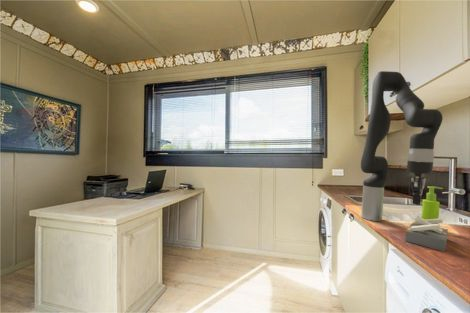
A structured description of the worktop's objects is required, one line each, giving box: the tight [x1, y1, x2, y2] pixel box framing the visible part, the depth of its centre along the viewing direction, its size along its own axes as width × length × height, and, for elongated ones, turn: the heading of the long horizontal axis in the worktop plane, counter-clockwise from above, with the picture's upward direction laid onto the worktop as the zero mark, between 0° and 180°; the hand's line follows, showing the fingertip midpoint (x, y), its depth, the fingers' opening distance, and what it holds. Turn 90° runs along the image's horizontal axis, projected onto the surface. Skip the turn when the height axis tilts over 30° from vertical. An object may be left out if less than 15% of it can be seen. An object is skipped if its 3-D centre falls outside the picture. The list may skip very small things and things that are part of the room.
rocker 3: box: [411, 223, 441, 231], centre depth 80 cm, size 3×8×1 cm, turn 42°
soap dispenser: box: [420, 185, 444, 224], centre depth 98 cm, size 6×7×20 cm
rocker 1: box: [414, 217, 444, 224], centre depth 88 cm, size 3×8×1 cm, turn 42°
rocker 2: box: [414, 215, 444, 234], centre depth 83 cm, size 3×8×1 cm, turn 42°
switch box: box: [404, 221, 449, 252], centre depth 84 cm, size 18×11×5 cm, turn 132°
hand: (416, 204), depth 82 cm, fingers closed
